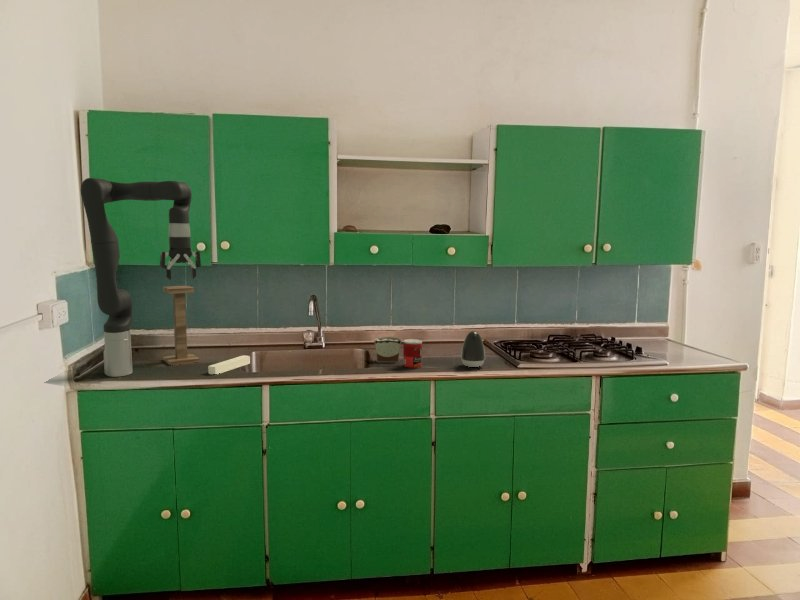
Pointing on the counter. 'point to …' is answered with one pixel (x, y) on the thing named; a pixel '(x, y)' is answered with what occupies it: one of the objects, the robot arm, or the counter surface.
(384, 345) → the food container
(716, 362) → the counter surface
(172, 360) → the stand
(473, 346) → the grey egg shaped speaker
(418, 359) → the canned food
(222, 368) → the bar
